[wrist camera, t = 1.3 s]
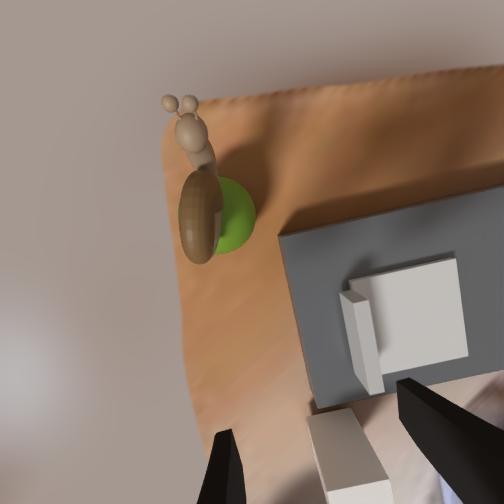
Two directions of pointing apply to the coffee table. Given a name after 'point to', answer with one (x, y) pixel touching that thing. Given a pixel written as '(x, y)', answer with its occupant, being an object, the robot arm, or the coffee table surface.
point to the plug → (347, 460)
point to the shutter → (404, 320)
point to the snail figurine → (207, 193)
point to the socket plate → (391, 258)
